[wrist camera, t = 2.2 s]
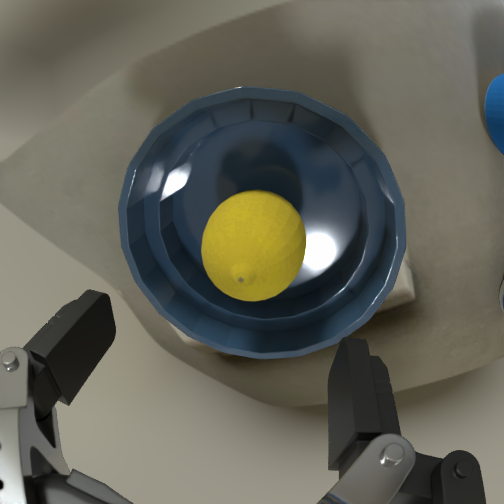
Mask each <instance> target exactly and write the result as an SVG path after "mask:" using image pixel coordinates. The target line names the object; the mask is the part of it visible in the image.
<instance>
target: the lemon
mask: <svg viewBox="0 0 504 504" xmlns="http://www.w3.org/2000/svg"><path fill="white" fill-rule="evenodd" d="M306 246H307V238H306V231H305V226H304V224H303V221H302V219H301V217H300V215H299V213H298V212H297V210H296V209H295V208H294V207H293V205H292V204H291V203H290V202H288V201H287V200H286V199H284V198H283V197H282V196H280V195H277V194H275V193H273V192H270V191H264V190H247V191H243V192H241V193H238V194H235V195H233V196H231V197H230V198H228V199H227V200H225V201H224V202H223V203H221V204H220V205H219V206H218V207H217V209H216V210H215V211H214V212H213V214H212V215H211V216H210V218H209V220H208V223H207V225H206V228H205V230H204V233H203V239H202V247H201V253H202V260H203V265H204V268H205V270H206V272H207V275H208V276H209V278H210V279H211V280H212V282H213V283H214V284H215V286H216V287H218V288H219V289H220V290H221V291H222V292H223V293H225V294H227V295H229V296H231V297H233V298H236V299H239V300H243V301H260V300H266V299H268V298H271V297H273V296H276V295H277V294H279V293H280V292H282V291H283V290H284V289H286V288H287V287H288V286H289V285H290V283H291V282H292V281H293V280H294V279H295V277H296V276H297V274H298V273H299V270H300V268H301V266H302V264H303V261H304V258H305V253H306Z"/></svg>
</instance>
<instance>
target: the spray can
mask: <svg viewBox="0 0 504 504" xmlns="http://www.w3.org/2000/svg"><path fill="white" fill-rule="evenodd" d="M499 301H500V305H501V308H502V310H503V312H504V280H503V282H502V285H501V288H500V293H499Z"/></svg>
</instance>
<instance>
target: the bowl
mask: <svg viewBox="0 0 504 504" xmlns="http://www.w3.org/2000/svg"><path fill="white" fill-rule="evenodd" d="M247 190H264V191H270V192H273V193H275V194H277V195H280V196H282V197H283V198H284V199H286V200H287V201H288V202H290V203H291V204H292V205H293V207H294V208H295V209H296V210H297V212H298V213H299V215H300V217H301V219H302V221H303V224H304V226H305V231H306V238H307V246H306V253H305V258H304V261H303V264H302V266H301V268H300V270H299V273H298V274H297V276H296V277H295V279H294V280H293V281H292V282H291V283H290V285H289V286H288V287H287V288H286V289H284V290H283V291H282V292H280V293H279V294H277V295H276V296H273V297H271V298H268V299H266V300H260V301H243V300H239V299H236V298H233V297H231V296H229V295H227V294H225V293H223V292H222V291H221V290H220V289H219V288H218V287H216V286H215V284H214V283H213V282H212V280H211V279H210V278H209V276H208V275H207V272H206V270H205V268H204V265H203V260H202V253H201V247H202V239H203V233H204V230H205V228H206V225H207V223H208V220H209V218H210V216H211V215H212V214H213V212H214V211H215V210H216V209H217V207H218V206H219V205H220V204H221V203H223V202H224V201H225V200H227V199H228V198H230V197H231V196H233V195H235V194H238V193H241V192H243V191H247ZM118 206H119V207H118V212H119V226H120V238H121V247H122V250H123V252H124V255H125V258H126V260H127V263H128V265H129V268H130V270H131V273H132V275H133V278H134V280H135V282H136V284H137V285H138V286H139V288H140V289H141V291H142V292H143V293H144V295H145V296H146V297H147V298H148V300H149V301H150V302H151V304H152V305H153V306H154V308H155V309H156V310H157V311H158V313H159V314H160V315H161V316H163V317H164V318H165V319H166V320H168V321H169V322H170V323H172V324H173V325H174V326H175V327H177V328H178V329H179V330H180V331H182V332H183V333H184V334H186V335H187V336H188V337H190V338H192V339H195V340H197V341H199V342H201V343H203V344H206V345H208V346H210V347H212V348H215V349H217V350H219V351H222V352H224V353H229V354H234V355H239V356H245V357H251V358H256V359H274V358H287V357H299V356H303V355H306V354H309V353H312V352H315V351H317V350H320V349H323V348H326V347H329V346H332V345H334V344H336V343H338V342H340V341H341V340H342V338H343V337H347V336H348V335H350V334H351V333H353V332H354V331H355V330H357V329H358V328H359V327H361V326H362V325H364V324H365V323H366V322H368V321H369V320H370V318H371V317H372V316H373V315H374V313H375V312H376V311H377V309H378V308H379V307H380V305H381V304H382V303H383V301H384V300H385V299H386V297H387V296H388V295H389V293H390V292H391V290H392V289H393V287H394V284H395V281H396V278H397V275H398V272H399V269H400V265H401V262H402V259H403V256H404V253H405V249H406V224H405V204H404V199H403V196H402V194H401V191H400V189H399V186H398V184H397V181H396V179H395V176H394V174H393V172H392V169H391V167H390V165H389V163H388V160H387V158H386V156H385V155H384V153H383V152H382V151H381V150H380V149H379V148H378V146H377V145H376V144H375V143H374V142H373V141H372V140H371V139H370V138H369V137H368V136H367V135H366V134H365V133H364V132H363V131H362V129H361V128H360V127H359V126H358V125H357V124H356V123H355V122H354V121H353V120H352V119H351V118H350V117H348V116H347V115H346V114H344V113H342V112H340V111H338V110H336V109H334V108H332V107H330V106H328V105H326V104H324V103H322V102H320V101H318V100H316V99H313V98H311V97H309V96H307V95H305V94H303V93H300V92H297V91H292V90H283V89H273V88H262V87H249V86H243V87H237V88H233V89H229V90H225V91H221V92H218V93H214V94H210V95H207V96H203V97H200V98H197V99H194V100H192V101H190V102H188V103H187V104H186V105H184V106H183V107H181V108H180V109H178V110H177V111H176V112H174V113H173V114H171V115H170V116H169V117H167V118H166V119H165V120H163V121H162V122H161V123H159V124H158V125H157V126H155V127H154V129H152V131H151V132H150V133H149V135H148V136H147V138H146V139H145V141H144V142H143V144H142V145H141V147H140V148H139V150H138V151H137V153H136V154H135V156H134V157H133V159H132V161H131V162H130V164H129V166H128V168H127V172H126V176H125V180H124V184H123V188H122V192H121V196H120V200H119V205H118Z"/></svg>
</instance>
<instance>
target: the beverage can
mask: <svg viewBox="0 0 504 504" xmlns="http://www.w3.org/2000/svg"><path fill="white" fill-rule="evenodd" d="M485 119H486V124H487V128H488V131H489V134H490V136H491V138H492V140H493V142H494V144H495V145H496V147H497V148H498V149H499V151H500V152H501V153H502V154H503V155H504V74H501V75H499V76H497V77H496V78H495V79H494V80H493V81H492V82H491V83H490V85H489V87H488V90H487V93H486V97H485Z"/></svg>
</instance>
